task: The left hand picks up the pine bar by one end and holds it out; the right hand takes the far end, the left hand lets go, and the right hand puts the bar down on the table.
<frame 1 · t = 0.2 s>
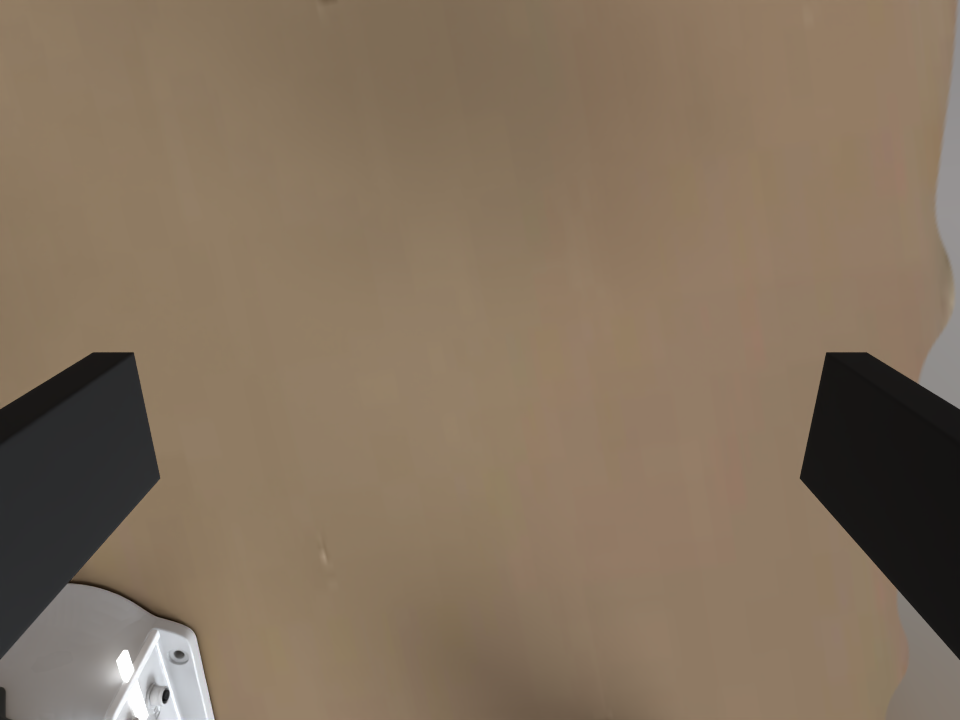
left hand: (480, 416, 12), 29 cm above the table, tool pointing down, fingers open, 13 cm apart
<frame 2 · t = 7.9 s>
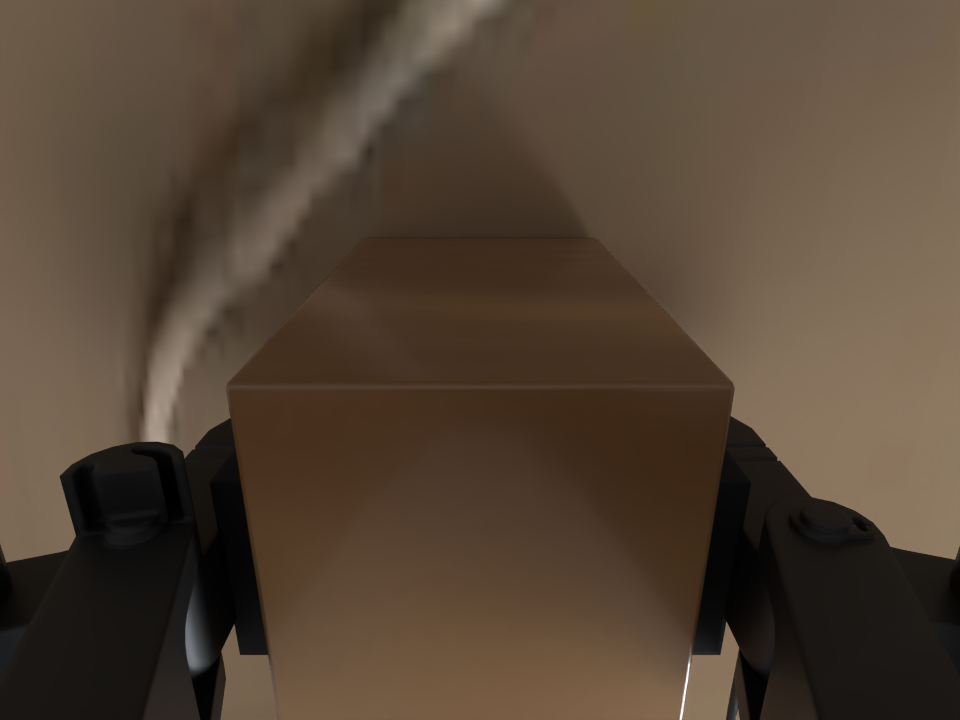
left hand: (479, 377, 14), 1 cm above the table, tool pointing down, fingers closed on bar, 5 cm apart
bar: (480, 693, 18), on the table, touching left hand
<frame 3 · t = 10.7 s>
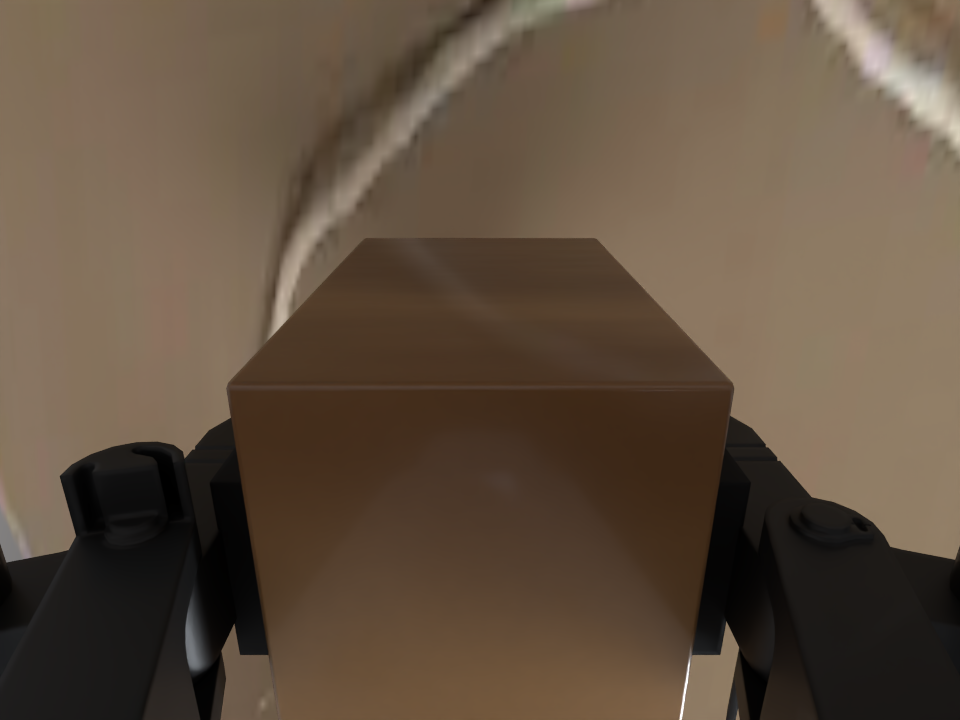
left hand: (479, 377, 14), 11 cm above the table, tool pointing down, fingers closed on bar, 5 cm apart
bar: (480, 693, 18), point 11 cm above the table, touching left hand
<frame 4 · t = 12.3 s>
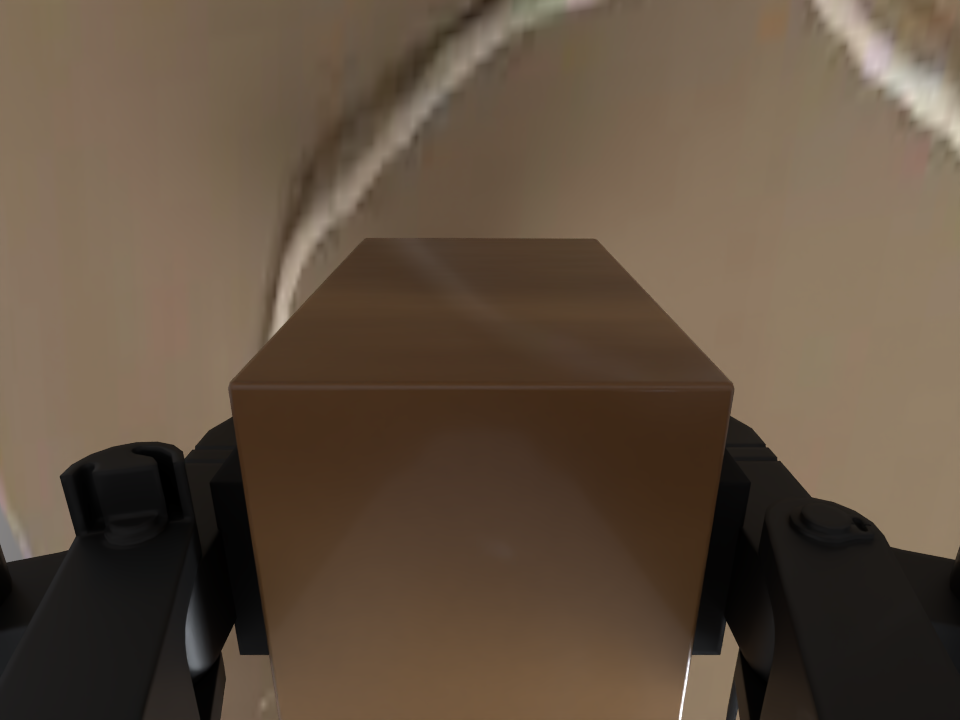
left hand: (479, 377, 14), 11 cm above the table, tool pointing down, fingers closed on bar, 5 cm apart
bar: (479, 692, 18), point 11 cm above the table, touching left hand, right hand
when the left hand's fingers open (11 cm above the table, at t = 13.3 s): bar stays where it is, held by the right hand.
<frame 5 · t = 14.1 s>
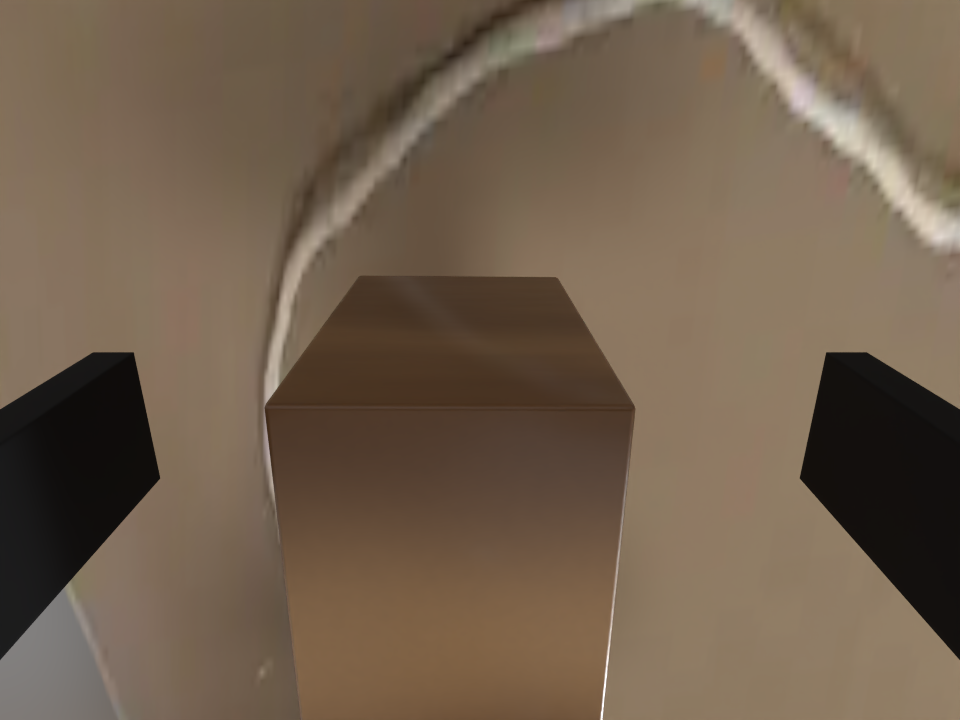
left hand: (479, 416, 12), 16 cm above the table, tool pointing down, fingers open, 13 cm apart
bar: (458, 676, 20), point 12 cm above the table, touching right hand
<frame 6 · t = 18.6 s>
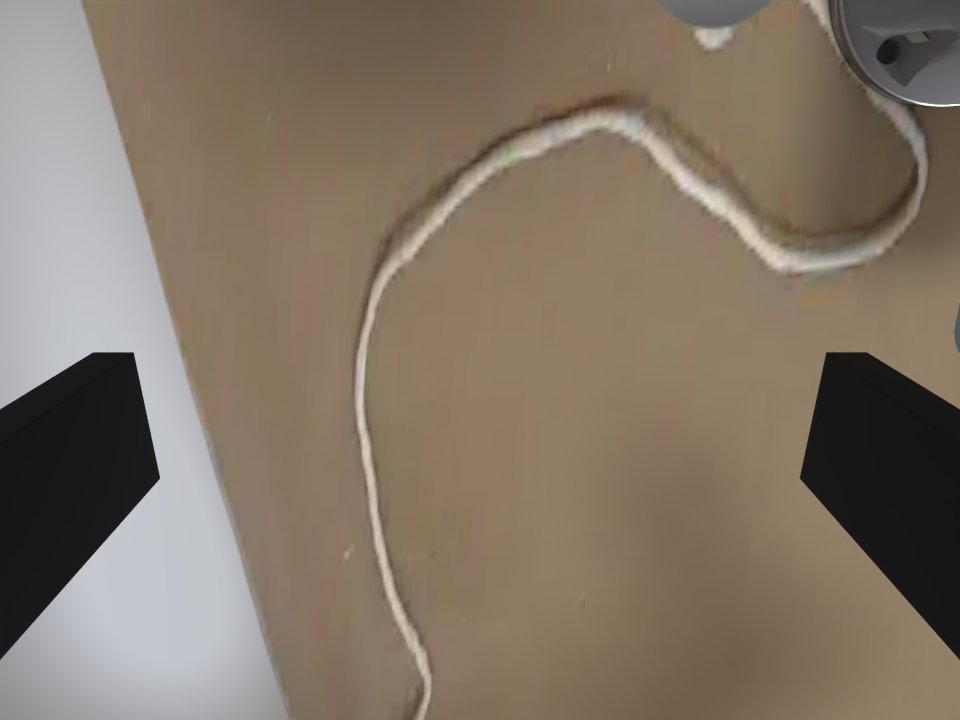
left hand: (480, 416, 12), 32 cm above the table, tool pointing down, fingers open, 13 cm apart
when the right hand's fingers open (4 cm above the table, at t = 25.3 s): bar stays where it is, on the table.
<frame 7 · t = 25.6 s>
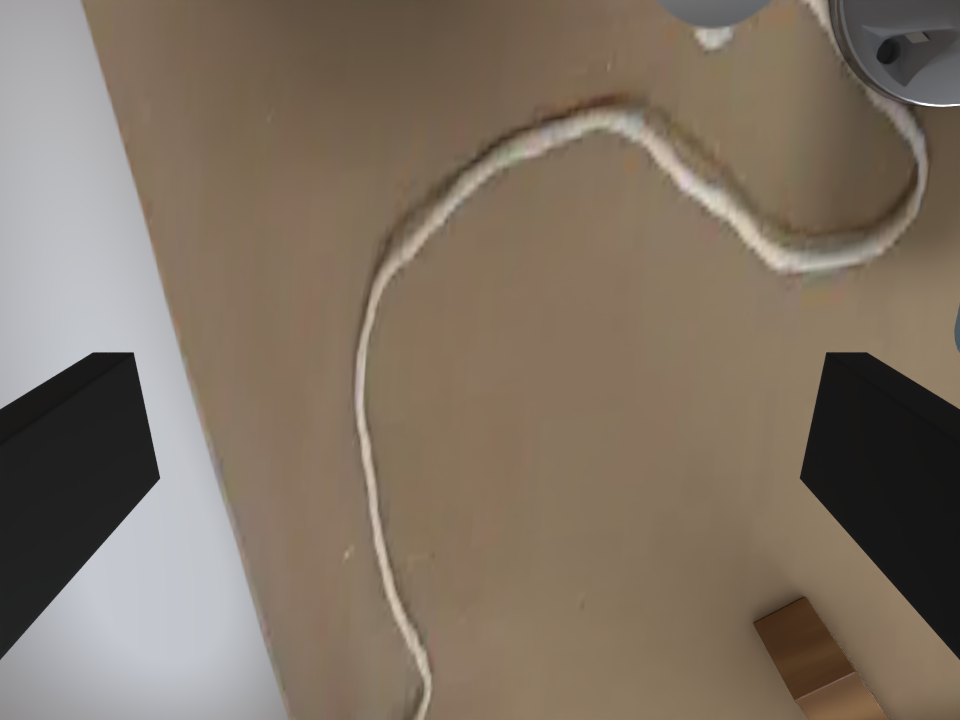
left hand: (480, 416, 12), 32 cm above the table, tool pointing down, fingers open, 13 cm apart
bar: (842, 699, 59), on the table
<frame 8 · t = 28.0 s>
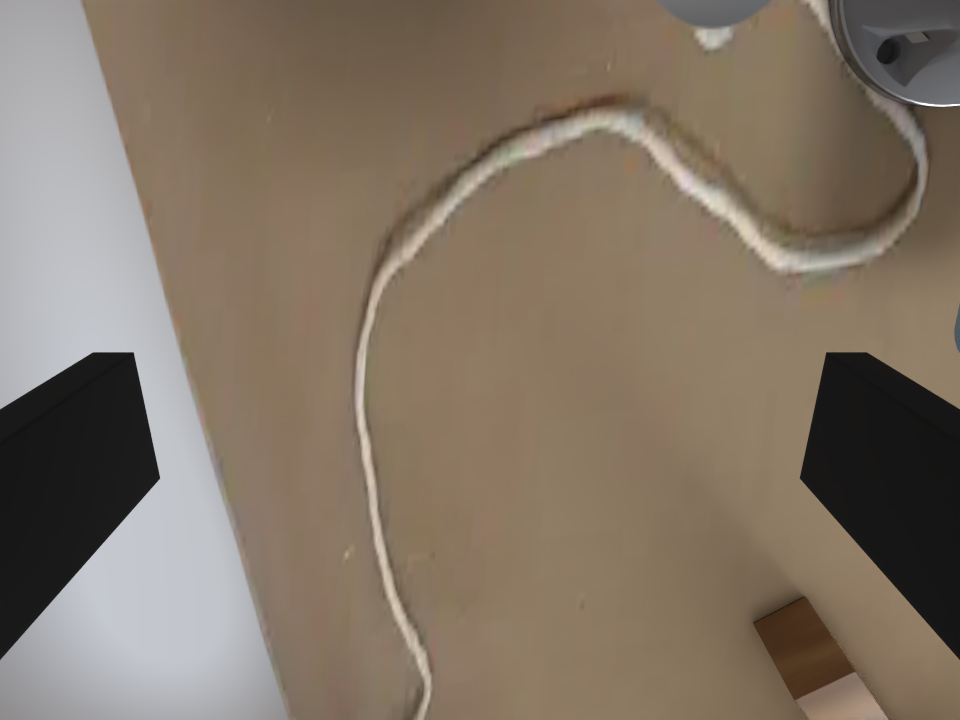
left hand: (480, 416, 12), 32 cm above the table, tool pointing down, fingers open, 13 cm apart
bar: (842, 699, 59), on the table
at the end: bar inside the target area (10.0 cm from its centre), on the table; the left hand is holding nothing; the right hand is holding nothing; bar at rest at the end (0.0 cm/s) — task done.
